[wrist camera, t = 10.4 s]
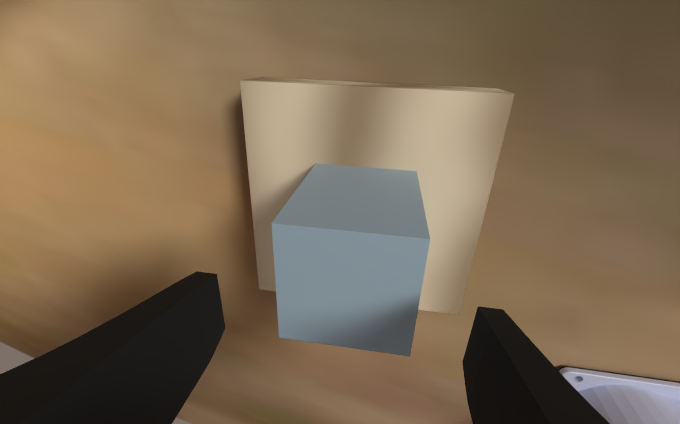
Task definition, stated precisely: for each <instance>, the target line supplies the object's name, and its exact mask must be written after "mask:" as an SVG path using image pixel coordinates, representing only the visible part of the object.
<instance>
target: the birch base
mask: <svg viewBox="0 0 680 424" xmlns="http://www.w3.org/2000/svg"><path fill="white" fill-rule="evenodd" d="M240 86H241V97H242V108H243V119H244V130H245V140H246V151H247V162H248V173H249V184H250V195H251V206H252V217H253V228H254V239H255V250H256V261H257V272H258V283H259V289H261V290H269V291H276V282H275V267H274V252H273V236H272V222H273V221H274V219H275V218H276V217H277V215H278V214H279V213H280V211H281V210H282V209H283V207H284V206H285V205H286V203H287V202H288V200H289V199H290V198H291V196H292V195H293V194H294V192H295V191H296V190H297V188H298V187H299V186H300V184H301V183H302V182H303V180H304V179H305V177H306V176H307V175H308V173H309V172H310V171H311V169H312V168H313V167H314V165H315V164H316V163H318V164H331V165H344V166H357V167H370V168H383V169H396V170H409V171H417V175H418V180H419V185H420V190H421V195H422V200H423V205H424V210H425V215H426V220H427V225H428V230H429V235H430V244H429V250H428V255H427V261H426V267H425V273H424V278H423V284H422V290H421V296H420V301H419V307H418V310H426V311H434V312H442V313H450V314H458V315H460V311H461V306H462V302H463V298H464V294H465V290H466V286H467V282H468V278H469V274H470V270H471V266H472V262H473V258H474V254H475V250H476V246H477V242H478V238H479V234H480V230H481V226H482V222H483V218H484V214H485V210H486V206H487V202H488V198H489V194H490V190H491V186H492V182H493V178H494V174H495V170H496V166H497V162H498V158H499V154H500V150H501V146H502V142H503V138H504V134H505V130H506V126H507V122H508V118H509V114H510V110H511V106H512V102H513V98H514V93H510V92H507V91H504V90H500V89H497V88H480V87H458V86H437V85H415V84H394V83H372V82H351V81H329V80H308V79H286V78H265V77H260V78H254V79H247V80H240Z"/></svg>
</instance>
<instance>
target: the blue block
mask: <svg viewBox="0 0 680 424" xmlns="http://www.w3.org/2000/svg"><path fill="white" fill-rule="evenodd" d="M272 236H273V252H274V267H275V282H276V297H277V313H278V328H279V338H285V339H292V340H299V341H306V342H313V343H320V344H327V345H334V346H341V347H348V348H355V349H362V350H369V351H376V352H383V353H390V354H397V355H404V356H410V353H411V347H412V341H413V336H414V330H415V324H416V318H417V313H418V307H419V301H420V296H421V290H422V284H423V278H424V273H425V267H426V261H427V255H428V250H429V244H430V235H429V230H428V225H427V220H426V215H425V210H424V205H423V200H422V195H421V190H420V185H419V180H418V175H417V171H409V170H396V169H383V168H370V167H357V166H344V165H331V164H318V163H316V164H315V165H314V167H313V168H312V169H311V171H310V172H309V173H308V175H307V176H306V177H305V179H304V180H303V182H302V183H301V184H300V186H299V187H298V188H297V190H296V191H295V192H294V194H293V195H292V196H291V198H290V199H289V200H288V202H287V203H286V205H285V206H284V207H283V209H282V210H281V211H280V213H279V214H278V215H277V217H276V218H275V219H274V221H273V222H272Z"/></svg>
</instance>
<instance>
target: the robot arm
mask: <svg viewBox="0 0 680 424" xmlns="http://www.w3.org/2000/svg"><path fill="white" fill-rule="evenodd" d="M224 330H225V323H224V317H223V311H222V304H221V298H220V291H219V285H218V279H217V274H212V273H204V272H195V273H193V274H191V275H189V276H187V277H186V278H184V279H182V280H180V281H178V282H177V283H175V284H173V285H171V286H170V287H168V288H166V289H164V290H163V291H161V292H159V293H157V294H156V295H154V296H152V297H151V298H149V299H147V300H145V301H144V302H142V303H140V304H138V305H137V306H135V307H133V308H131V309H130V310H128V311H126V312H124V313H123V314H121V315H119V316H117V317H115V318H114V319H112V320H110V321H108V322H106V323H104V324H102V325H100V326H98V327H97V328H95V329H93V330H91V331H89V332H87V333H85V334H83V335H82V336H80V337H78V338H76V339H74V340H72V341H70V342H68V343H66V344H64V345H62V346H60V347H58V348H56V349H54V350H52V351H50V352H48V353H46V354H44V355H42V356H40V357H37V358H35V359H33V360H31V361H29V362H27V363H25V364H22V365H20V366H18V367H16V368H13V369H11V370H9V371H7V372H5V373H2V374H0V424H172V422H173V421H174V419H175V418H176V416H177V414H178V413H179V411H180V410H181V408H182V406H183V405H184V403H185V402H186V400H187V398H188V397H189V395H190V393H191V392H192V390H193V389H194V387H195V385H196V384H197V382H198V380H199V379H200V377H201V375H202V374H203V372H204V371H205V369H206V367H207V365H208V364H209V362H210V360H211V358H212V356H213V354H214V352H215V350H216V348H217V345H218V343H219V341H220V339H221V336H222V334H223V332H224ZM463 370H464V378H465V386H466V393H467V400H468V405H469V409H470V414H471V418H472V422H473V424H680V383H677V382H670V381H663V380H655V379H648V378H641V377H634V376H627V375H620V374H613V373H606V372H598V371H591V370H584V369H577V368H570V367H565V368H562V369H561V370H560V371H558V370H557V369H556V368H555V367H554V366H553V365H552V364H551V363H550V361H549V360H548V359H547V358H546V357H545V356H544V355H543V354H542V353H541V352H540V350H539V349H538V348H537V347H536V346H535V345H534V344H533V343H532V342H531V340H530V339H529V338H528V337H527V336H526V335H525V334H524V333H523V331H522V330H521V329H520V328H519V327H518V326H517V325H516V324H515V322H514V321H513V320H512V319H511V318H510V317H509V316H508V315H507V314H506V313H505V312H504V310H502V309H494V308H486V307H478V309H477V312H476V316H475V319H474V323H473V327H472V330H471V334H470V337H469V341H468V345H467V348H466V352H465V355H464V359H463Z"/></svg>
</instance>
